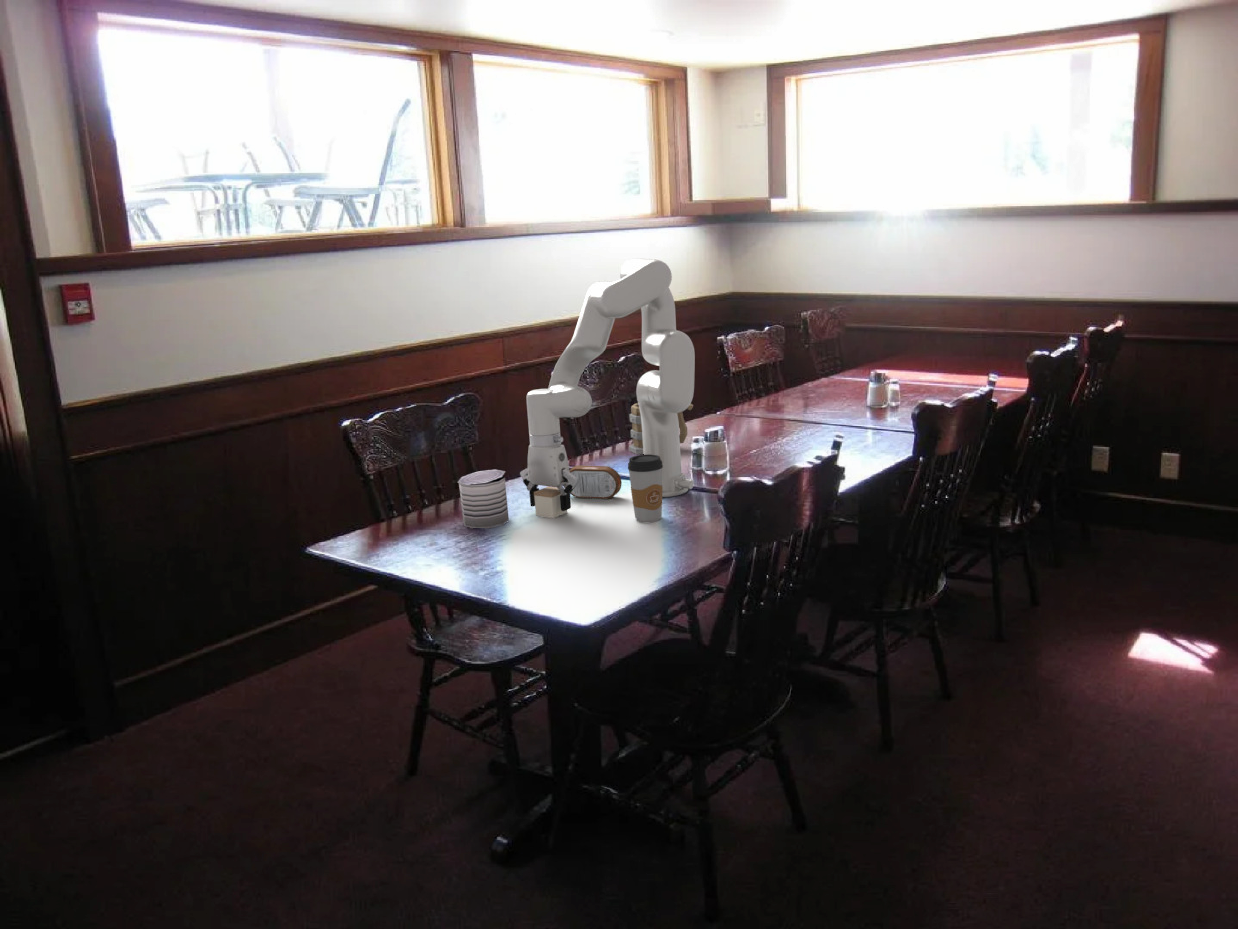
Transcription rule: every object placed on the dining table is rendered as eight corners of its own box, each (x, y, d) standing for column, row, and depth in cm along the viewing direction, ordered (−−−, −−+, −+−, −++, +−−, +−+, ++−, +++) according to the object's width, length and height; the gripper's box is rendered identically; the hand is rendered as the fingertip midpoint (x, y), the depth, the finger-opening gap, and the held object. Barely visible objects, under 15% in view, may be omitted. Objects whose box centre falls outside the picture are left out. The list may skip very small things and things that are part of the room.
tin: (623, 497, 275) (620, 465, 273) (619, 500, 272) (616, 468, 270) (568, 495, 280) (566, 464, 278) (564, 498, 277) (561, 467, 275)
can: (506, 527, 256) (501, 479, 253) (459, 530, 256) (454, 482, 253) (511, 514, 267) (507, 467, 264) (466, 516, 267) (461, 470, 264)
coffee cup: (641, 526, 249) (637, 464, 246) (625, 518, 256) (620, 457, 253) (672, 519, 253) (669, 458, 249) (655, 511, 260) (651, 452, 256)
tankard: (624, 454, 321) (621, 405, 318) (639, 444, 332) (636, 397, 329) (687, 456, 314) (685, 405, 310) (700, 446, 325) (698, 397, 321)
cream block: (567, 512, 265) (565, 488, 264) (553, 518, 261) (551, 494, 259) (550, 509, 268) (548, 486, 267) (535, 515, 264) (533, 492, 262)
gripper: (582, 439, 258) (587, 507, 262) (528, 434, 268) (533, 499, 272) (563, 446, 252) (568, 515, 256) (508, 440, 262) (514, 507, 266)
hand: (550, 507), depth 264 cm, fingers open, 9 cm apart
